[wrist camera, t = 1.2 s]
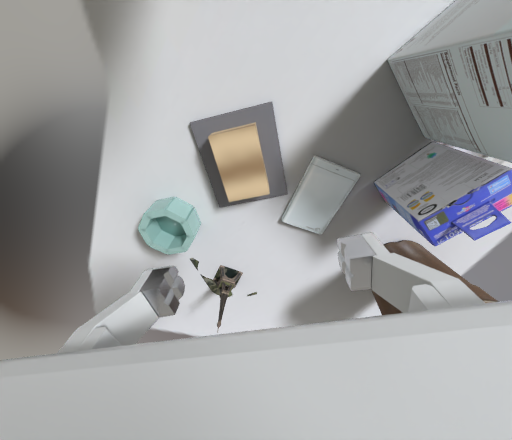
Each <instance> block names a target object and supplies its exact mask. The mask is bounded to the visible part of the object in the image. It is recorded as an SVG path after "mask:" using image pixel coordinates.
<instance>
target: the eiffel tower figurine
mask: <svg viewBox="0 0 512 440" xmlns="http://www.w3.org/2000/svg"><path fill="white" fill-rule="evenodd" d="M190 260H191V261H192V263H193V264H194V266H195V267H196V269H197V267H198V263H199V262H198V261H197V260H195V259H194V258H190ZM197 270H198V269H197ZM242 274H243V273H242V272H239V271H236V270H234V269H231V268H228V267H225V266H222V265H220V267H219V269H218V271H217V273H216V275H215V277H214V279H213V280H212V279H209V278H206V277H204V276H202V275H201V274H200V275H201V276H202V278H203V279H204V281H205V282H206V283H207V285H208V286H209V288H210V289H211V291H212V292H214V293H215V294H217V295H220V298H221V300H220V311H219V320H218V323H217V327H218V329H219V327H220V326H221V319H222V315H223V311H224V307H225V303H226V300H227V297H230V296H232V293H231V290H232V289H233V288H235V286H236V284H237V283H238V281H239V279H240V277H241V275H242ZM225 285H227V286H225ZM255 294H257V292H255V293H252V294H249V295H247V296H251V295H255ZM217 333H218V332H217Z"/></svg>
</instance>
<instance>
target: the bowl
mask: <svg viewBox="0 0 512 440" xmlns="http://www.w3.org/2000/svg"><path fill="white" fill-rule="evenodd" d="M200 225H201V222H200V219H199V217H198V214H197V212H196V210H195V207H194V208H193V206H192V205H190V204H188V203H186V202H184V201H182V200H181V199H179V198H177V197H176V198H174V197H171V198H166V199H161V200H157V201H155V203H154V204H153V205H152V206H151V207H150V208H149V209H148V210H147V211H146V212H145V213H144V215H143V217H142V219H141V222H140V224H139V227H138V231H139V232H140V234H141V236H142V237H143V239H144V240H145V242H146V244H147V245H149V247H151V248H153V249H156V250H158V251H160V252H162V253H165V254H167V253H168V255H170V254H176V253H182V252H186V251H187V250H188V248H189V247H190V245H191V243H192V242H193V240H194V238H195V236H196V234H197V232H198V230H199V227H200Z"/></svg>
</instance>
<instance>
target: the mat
mask: <svg viewBox="0 0 512 440" xmlns="http://www.w3.org/2000/svg"><path fill="white" fill-rule="evenodd" d="M255 122H256V126H257V131H258V136H259V141H260V145H261V150H262V155H263V160H264V164H265V169H266V174H267V179H268V183H269V192H270V194H268V195H263V196H258V197H253V198H248V199H242V200H237V201H232V202H229V200H228V197H227V194H226V191H225V188H224V185H223V182H222V179H221V176H220V173H219V170H218V166H217V163H216V160H215V157H214V154H213V151H212V148H211V145H210V142H209V139H208V136H209V135H211V134H212V133H214V132H218V131H222V130H226V129H230V128H234V127H238V126H243V125H247V124H251V123H255ZM190 125H191V128H192V131H193V134H194V137H195V139H196V142H197V145H198V148H199V151H200V154H201V156H202V159H203V162H204V165H205V168H206V171H207V173H208V176H209V179H210V182H211V185H212V188H213V190H214V193H215V196H216V199H217V202H218V204H219V207H224V206H230V205H235V204H240V203H245V202H250V201H255V200H260V199H265V198H271V197H276V196H281V195H286V194H287V188H286V182H285V176H284V170H283V164H282V158H281V152H280V146H279V140H278V134H277V128H276V122H275V116H274V110H273V104H272V102H268V103H264V104H261V105H257V106H253V107H249V108H245V109H241V110H237V111H233V112H229V113H225V114H221V115H218V116H214V117H210V118H206V119H202V120H198V121H194V122H190Z"/></svg>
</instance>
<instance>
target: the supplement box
mask: <svg viewBox="0 0 512 440" xmlns="http://www.w3.org/2000/svg"><path fill="white" fill-rule="evenodd" d="M388 62H389V65H390V67H391V69H392V71H393V73H394V75H395V78H396V80H397V82H398V84H399V86H400V88H401V90H402V92H403V94H404V97H405V99H406V101H407V103H408V105H409V107H410V109H411V111H412V113H413V115H414V117H415V119H416V121H417V123H418V125H419V127H420V129H421V132H422V134H423V136H424V137H425V138H428V139H432V140H435V141H438V142H442V143H445V144H449V145H452V146H456V147H459V148H463V149H466V150H470V151H473V152H476V153H480V154H483V155H486V156H490V157H493V158H497V159H500V160H504V161H507V162H511V163H512V0H456V1H455V2H454V3H452V4H451V5H450V6H449V7H448V8H447V9H445V10H444V11H443V12H442V13H441V14H440V15H438V16H437V17H436V18H435V19H434V20H433V21H431V22H430V23H429V24H428V25H427V26H426V27H424V28H423V29H422V30H421V31H420V32H419V33H417V34H416V35H415V36H414V37H413V38H412V39H411V40H409V41H408V42H407V43H406V44H405V45H404V46H402V47H401V48H400V49H399V50H398V51H397V52H395V53H394V54H393V55H392V56H391V57H389V59H388Z"/></svg>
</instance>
